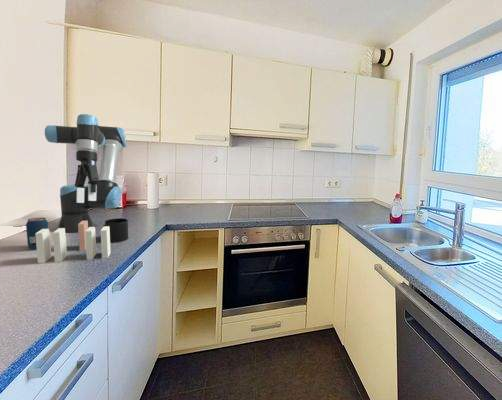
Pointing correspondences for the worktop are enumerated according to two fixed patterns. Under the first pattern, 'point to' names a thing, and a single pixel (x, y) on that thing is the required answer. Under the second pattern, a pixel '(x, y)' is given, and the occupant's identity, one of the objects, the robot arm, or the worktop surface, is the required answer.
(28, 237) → the soda can
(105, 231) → the domino
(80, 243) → the domino
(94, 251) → the domino
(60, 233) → the domino
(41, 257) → the domino
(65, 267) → the worktop surface
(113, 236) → the mug
